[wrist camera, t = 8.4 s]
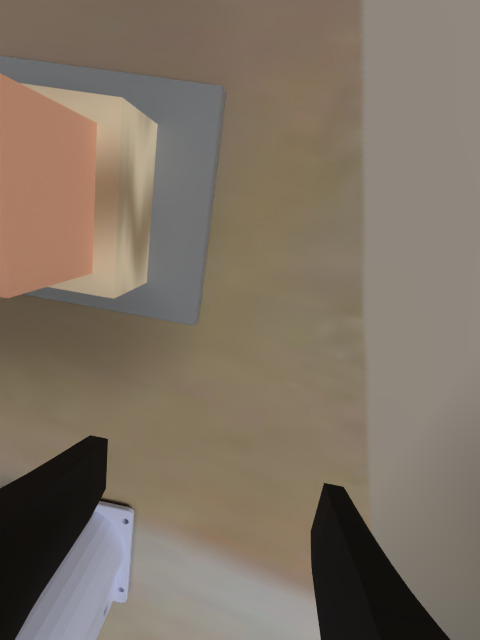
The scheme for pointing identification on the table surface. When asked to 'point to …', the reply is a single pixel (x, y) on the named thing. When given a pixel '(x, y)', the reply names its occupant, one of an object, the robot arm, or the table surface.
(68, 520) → the robot arm
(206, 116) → the base plate
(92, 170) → the terracotta brick
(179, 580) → the table surface
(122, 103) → the maple brick
